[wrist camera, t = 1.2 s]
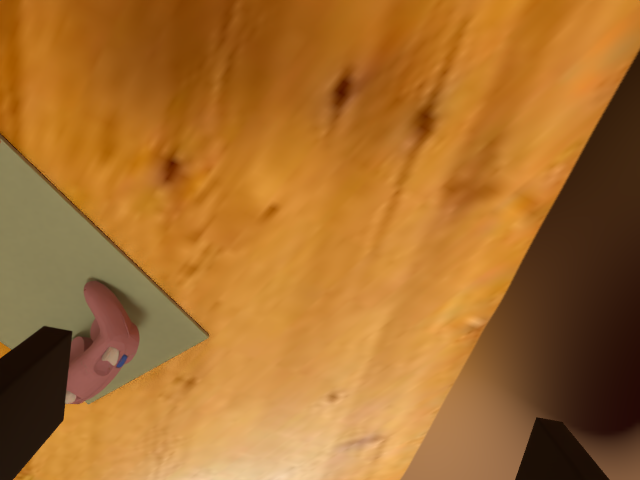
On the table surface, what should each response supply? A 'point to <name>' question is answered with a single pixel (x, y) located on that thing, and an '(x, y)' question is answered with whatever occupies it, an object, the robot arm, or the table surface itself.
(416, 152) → the table surface
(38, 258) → the placemat
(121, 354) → the video game controller
